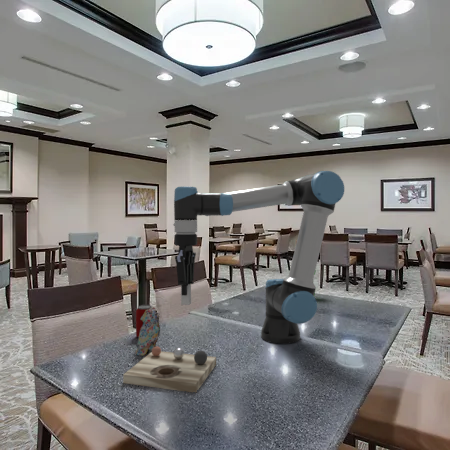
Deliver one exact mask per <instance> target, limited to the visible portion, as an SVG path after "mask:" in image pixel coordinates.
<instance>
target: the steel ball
mask: <svg viewBox="0 0 450 450" xmlns="http://www.w3.org/2000/svg"><path fill="white" fill-rule="evenodd" d="M184 354H185V350H184V349H183V348H181V347H177V348H175V349H174V351H173V355H174V357H175V358H176V359H181V358H183V356H184Z"/></svg>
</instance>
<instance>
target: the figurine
mask: <svg viewBox="0 0 450 450" xmlns="http://www.w3.org/2000/svg"><path fill="white" fill-rule="evenodd" d="M141 320H142V321H143V322H144V324H143V325H142V327H141V330H140V334H139V337H138V339H137V343H136V349H135V355H137V356H141V357H142V356H143V357H146V356H147V355H148V354H150V353H151V352H152V349H153V348H154V347H155V346H157V342H158V340H159V337H160V333H161V325H160V315H159V313H158V311H156V308H155V307H153V306H152V308H150V309H149V310H146V311H145V312H144V314H143V316H142V317H141Z"/></svg>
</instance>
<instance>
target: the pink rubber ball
mask: <svg viewBox="0 0 450 450" xmlns="http://www.w3.org/2000/svg"><path fill="white" fill-rule="evenodd" d="M161 351H162V349H161V347H160V346H158V345H156V346H155V347H154V348H153V349H152V354H153V355H154V356H158V355H160V353H161Z"/></svg>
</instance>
